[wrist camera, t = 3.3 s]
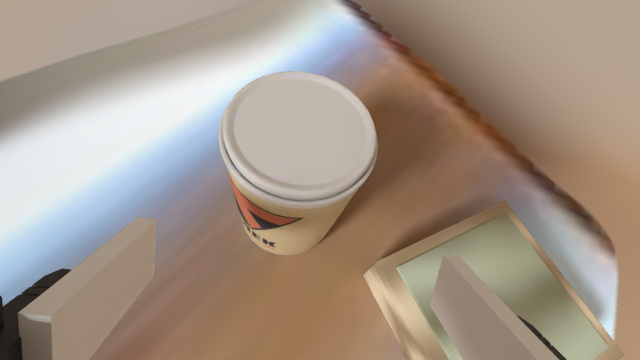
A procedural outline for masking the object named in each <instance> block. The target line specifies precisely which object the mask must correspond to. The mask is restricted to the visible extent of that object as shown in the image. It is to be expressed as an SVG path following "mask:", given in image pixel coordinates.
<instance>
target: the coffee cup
mask: <svg viewBox="0 0 640 360" xmlns="http://www.w3.org/2000/svg"><path fill="white" fill-rule="evenodd" d="M219 146H220V150H221V154H222V156H223V159H224V162H225V164H226V166H227V168H228V172H229V177H230V181H231V184H232V188H233V192H234V195H235V199H236V202H237V206H238V210H239V213H240V217H241V220H242V223H243V226H244V228H245V230H246V232H247V234H248V235H249V237H250V238H251V239H252V240H253V241H254V242H255V243H256V244H257V245H258V246H260V247H261V248H263V249H264V250H266V251H269V252H271V253H274V254H279V255H295V254H299V253H302V252H305V251H307V250H309V249H311V248H312V247H314V246H315V245H317V244H318V243H319V242H320V241H321V240H322V239H323V237H324V236H325V235H326V234H327V232H328V231H329V230H330V228H331V227H332V225H333V224H334V223H335V221H336V220H337V218H338V217H339V215H340V214H341V213H342V211H343V210H344V208H345V207H346V205H347V204H348V203H349V201H350V200H351V198H352V197H353V195H354V194H355V192H356V191H357V190H358V189H359V188H360V187H361V186H362V184H363V183H364V182H365V181H366V179H367V178H368V177H369V175H370V173H371V172H372V169H373V167H374V165H375V161H376V158H377V152H378V141H377V135H376V130H375V126H374V122H373V120H372V117H371V115H370V113H369V111H368V110H367V108H366V107H365V105H364V104H363V103H362V102H361V101H360V99H359V98H358V97H357V96H356V95H355V94H353V93H352V92H351V91H350V90H348V89H347V88H346V87H344V86H343V85H341V84H339V83H337V82H335V81H333V80H331V79H329V78H326V77H323V76H320V75H317V74H312V73H307V72H295V71H288V72H279V73H273V74H270V75H266V76H263V77H260V78H258V79H256V80H254V81H252V82H251V83H249V84H247V85H246V86H245V87H243V88H242V89H241V90H240V91H239V92H238V93H237V94H236V95H235V96H234V97H233V99H232V100H231V102H230V103H229V105H228V106H227V108H226V109H225V111H224V114H223V116H222V119H221V122H220V127H219Z"/></svg>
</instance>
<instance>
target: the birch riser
mask: <svg viewBox="0 0 640 360" xmlns="http://www.w3.org/2000/svg"><path fill="white" fill-rule="evenodd" d="M443 254H444V255H452V256H459V257H460V258H461V259H462V260H463V261H464V262H465V263H466V264H467V265H468V266H469V267H470V268H471V269H472V270H473V271H474V273H475V274H476V275H477V276H478V277H479V278H480V279H481V280H482V281H483V282H484V283H485V284H486V285H487V286H488V287H489V288H490V289H491V290H492V291H493V292H494V293H495V294H496V295H497V296H498V297H499V298H500V299H501V300H502V301H503V302H504V303H505V304H506V305H507V306H508V308H509V309H510V310H511V311H512V312H513V313H514V314H515V315H516V316H520V317H521V318H523V319H524V320H526V321H527V322H529V323H530V324H532V325H533V326H534V327H535V328H536V329H537V330H538V331H539V332H540V333H541V334H542V336H543V337H545V338H546V339H547V340H548V341H549V342H550V343H551V345H553V346H554V347H555V348H556V349H557V350H558V351H559V352H560V353H561V354H562V355H563V356H564V357H565V358H566V359H567V360H619V359H620V358H621V357H623V355H624V354H623V352H622V351H621V350H620V348H619V347H618V346H617V345H616V343H615V342H614V341H613V339H612V338H611V337H610V336H609V334H608V333H607V332H606V330H605V329H604V328H603V327H602V325H601V324H600V323H599V321H598V320H597V319H596V318H595V316H594V315H593V314H592V312H591V311H590V310H589V309H588V307H587V306H586V305H585V303H584V302H583V301H582V300H581V298H580V297H579V296H578V294H577V293H576V292H575V291H574V289H573V288H572V287H571V285H570V284H569V283H568V282H567V280H566V279H565V278H564V276H563V275H562V274H561V273H560V271H559V270H558V269H557V267H556V266H555V265H554V264H553V262H552V261H551V260H550V258H549V257H548V256H547V255H546V253H545V252H544V251H543V249H542V248H541V247H540V245H539V244H538V243H537V242H536V240H535V239H534V238H533V236H532V235H531V234H530V233H529V231H528V230H527V229H526V227H525V226H524V225H523V224H522V222H521V221H520V220H519V218H518V217H517V216H516V215H515V213H514V212H513V211H512V209H511V208H510V207H509V206H508V204H507V203H506V202H505V200H504V201H502V202H500V203H498V204H496V205H494V206H492V207H490V208H488V209H485V210H483V211H481V212H479V213H477V214H475V215H473V216H471V217H469V218H467V219H465V220H462V221H460V222H458V223H456V224H454V225H452V226H450V227H448V228H446V229H444V230H442V231H439V232H437V233H435V234H433V235H431V236H429V237H427V238H425V239H423V240H421V241H419V242H416V243H414V244H412V245H410V246H408V247H406V248H404V249H402V250H400V251H398V252H396V253H393V254H391V255H389V256H387V257H385V258H383V259H381V260H379V261H377V262H376V263H375V264H374V265H373V266H372V267H371V268H370V269H369V270H368V271H367V272H366V273H365V274H364V275H363V276H364V278H365V280H366V282H367V284H368V286H369V288H370V289H371V291H372V293H373V295H374V297H375V299H376V301H377V303H378V305H379V306H380V308H381V310H382V312H383V314H384V316H385V318H386V320H387V321H388V323H389V325H390V327H391V329H392V331H393V333H394V335H395V337H396V338H397V340H398V342H399V344H400V346H401V348H402V350H403V352H404V353H405V355H406V357H407V359H408V360H463V358H462V357H461V355H460V354H459V352H458V350H457V349H456V347H455V345H454V344H453V342H452V341H451V339H450V337H449V336H448V334H447V332H446V331H445V329H444V328H443V326H442V324H441V323H440V321H439V319H438V318H437V316H436V315H435V313H434V311H433V310H432V308H431V306H430V302H431V299H432V295H433V291H434V287H435V284H436V280H437V276H438V273H439V269H440V265H441V261H442V258H443Z"/></svg>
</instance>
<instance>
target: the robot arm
mask: <svg viewBox="0 0 640 360" xmlns="http://www.w3.org/2000/svg"><path fill="white" fill-rule="evenodd" d="M156 222H157V219H149V218H141V217H138V218H137V219H135V220H134V221H133V222H132V223H130V224H129V225H128V226H127V227H125V228H124V229H123V230H122V231H120V232H119V233H118V234H117V235H115V236H114V237H113V238H112V239H110V240H109V241H108V242H107V243H105V244H104V245H103V246H102V247H100V248H99V249H98V250H96V251H95V252H94V253H93V254H91V255H90V256H89V257H88V258H86V259H85V260H84V261H83V262H81V263H80V264H79V265H78V266H76V267H75V268H74V269H73V270H70V269H60V270H58V271H55V272H53V273H51V274H48V275H46V276H44V277H43V278H41V279H40V280H39V281H37V282H36V283H35V284H33V285H32V287H29V288H28V289H26V290H25V291H24V292H22V294H21V295H18V296H17V297H15V298H14V299H13V300H11V301H10V302H9V303H7V304H6V305H5V306H3V304H2V297H1V296H0V360H89V359H90V358H91V357H92V355H93V354H94V353H95V351H96V350H97V349H98V348H99V346H100V345H101V344H102V342H103V341H104V340H105V339H106V337H107V336H108V335H109V333H110V332H111V331H112V329H113V328H114V327H115V326H116V324H117V323H118V322H119V320H120V319H121V318H122V317H123V315H124V314H125V313H126V311H127V310H128V309H129V308H130V306H131V305H132V304H133V302H134V301H135V300H136V298H137V297H138V296H139V295H140V293H141V292H142V291H143V289H144V288H145V287H146V286H147V284H148V283H149V282H150V280H151V279H152V278H153V277H154V264H155V243H156ZM430 306H431V308H432V310H433V311H434V313H435V315H436V316H437V318H438V319H439V321H440V323H441V324H442V326H443V328H444V329H445V331H446V332H447V334H448V336H449V337H450V339H451V341H452V342H453V344H454V345H455V347H456V349H457V350H458V352H459V354H460V355H461V357H462V358H463V360H567V359H566V358H565V357H564V356H563V355H562V354H561V353H560V352H559V351H558V350H557V349H556V348H555V347H554V346H553V345H551V343H550V342H549V341H548V340H547V339H546V338H545V337H543V336H542V334H541V333H540V332H539V331H538V330H537V329H536V328H535V327H534V326H533V325H532V324H530V323H529V322H527V321H526V320H524V319H523V318H521V317H520V316H516V315H515V314H514V313H513V312H512V311H511V310H510V309H509V308H508V306H507V305H506V304H505V303H504V302H503V301H502V300H501V299H500V298H499V297H498V296H497V295H496V294H495V293H494V292H493V291H492V290H491V289H490V288H489V287H488V286H487V285H486V284H485V283H484V282H483V281H482V280H481V279H480V278H479V277H478V276H477V275H476V274H475V273H474V271H473V270H472V269H471V268H470V267H469V266H468V265H467V264H466V263H465V262H464V261H463V260H462V259H461V258H460V257H459V256H452V255H444V254H443V258H442V261H441V265H440V269H439V273H438V276H437V280H436V284H435V287H434V291H433V295H432V299H431V302H430Z"/></svg>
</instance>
